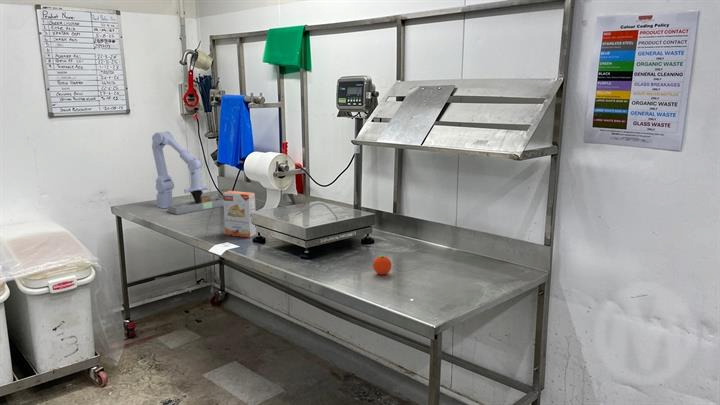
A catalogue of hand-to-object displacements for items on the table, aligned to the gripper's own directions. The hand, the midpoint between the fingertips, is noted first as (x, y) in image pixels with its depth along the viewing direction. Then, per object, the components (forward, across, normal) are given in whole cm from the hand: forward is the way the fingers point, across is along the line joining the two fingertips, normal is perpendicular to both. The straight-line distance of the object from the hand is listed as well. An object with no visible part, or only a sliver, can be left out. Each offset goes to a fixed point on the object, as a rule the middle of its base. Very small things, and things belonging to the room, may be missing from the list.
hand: (197, 203), depth 304 cm
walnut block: (+1, +4, 0) cm, 5 cm away
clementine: (+4, -15, -150) cm, 151 cm away
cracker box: (+4, -18, -66) cm, 69 cm away
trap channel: (+3, 0, 0) cm, 3 cm away
